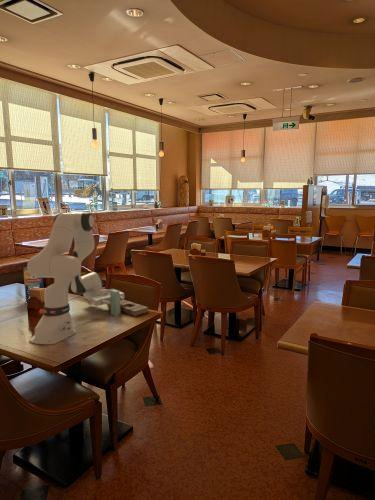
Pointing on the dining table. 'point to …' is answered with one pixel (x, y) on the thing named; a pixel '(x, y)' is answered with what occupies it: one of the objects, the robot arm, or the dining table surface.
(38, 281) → the beverage box
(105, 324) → the dining table surface
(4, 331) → the dining table surface
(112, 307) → the pale green tall block
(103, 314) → the dining table surface
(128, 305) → the grey slab with hole
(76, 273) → the robot arm
